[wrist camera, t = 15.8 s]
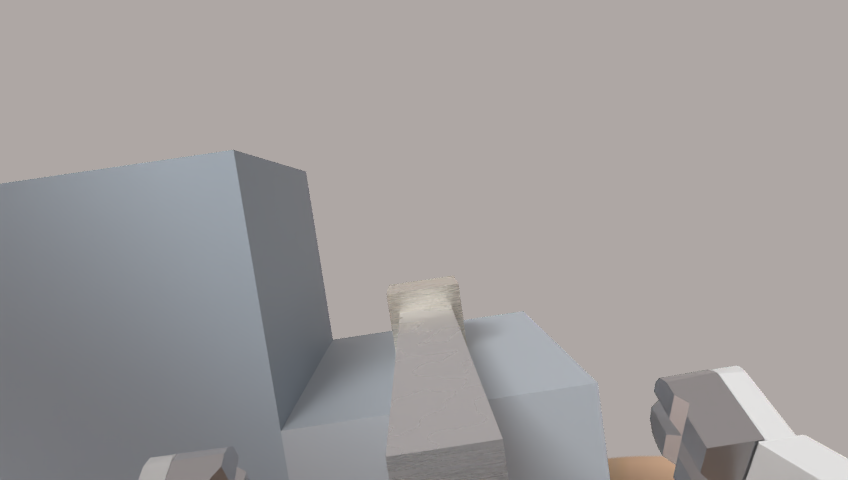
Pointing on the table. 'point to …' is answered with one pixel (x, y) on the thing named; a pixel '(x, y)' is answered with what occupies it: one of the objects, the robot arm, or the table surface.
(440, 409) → the long bar
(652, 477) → the table surface
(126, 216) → the stepped stand
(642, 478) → the table surface
